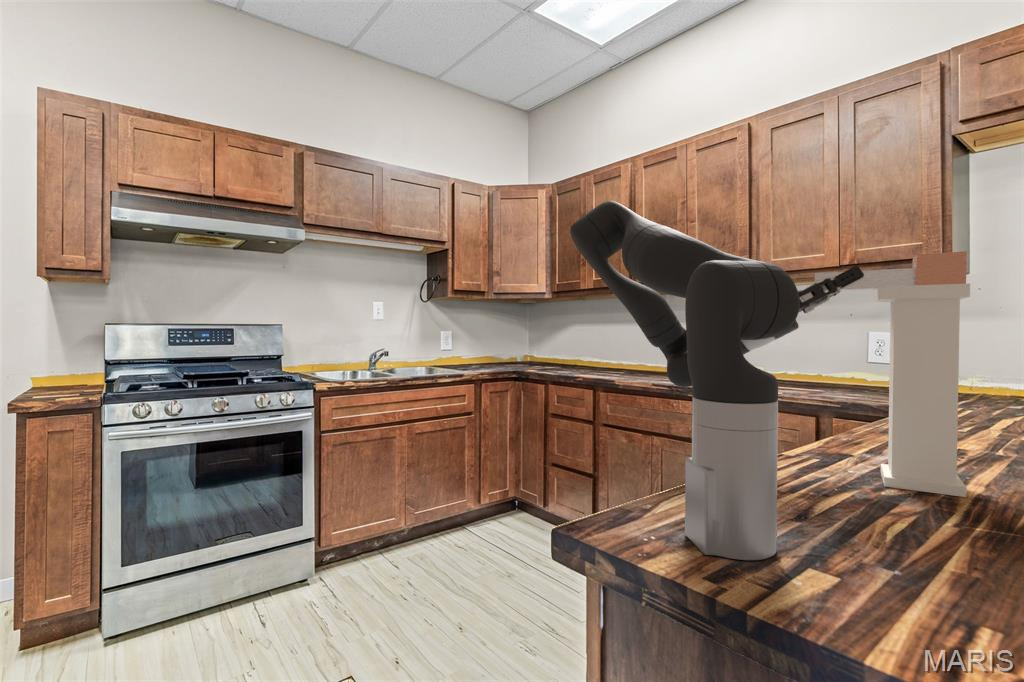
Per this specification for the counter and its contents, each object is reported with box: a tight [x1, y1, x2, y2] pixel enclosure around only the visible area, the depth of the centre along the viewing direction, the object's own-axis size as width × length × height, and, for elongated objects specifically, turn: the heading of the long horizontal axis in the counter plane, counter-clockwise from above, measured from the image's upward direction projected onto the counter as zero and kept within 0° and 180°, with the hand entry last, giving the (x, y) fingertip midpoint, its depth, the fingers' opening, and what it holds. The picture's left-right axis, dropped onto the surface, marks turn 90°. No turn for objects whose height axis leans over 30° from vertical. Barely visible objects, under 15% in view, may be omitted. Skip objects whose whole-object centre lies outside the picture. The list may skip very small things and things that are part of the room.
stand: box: [875, 283, 971, 498], centre depth 85 cm, size 11×10×32 cm
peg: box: [814, 251, 968, 292], centre depth 87 cm, size 20×6×5 cm, turn 58°
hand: (860, 271), depth 89 cm, fingers closed on peg, 3 cm apart
